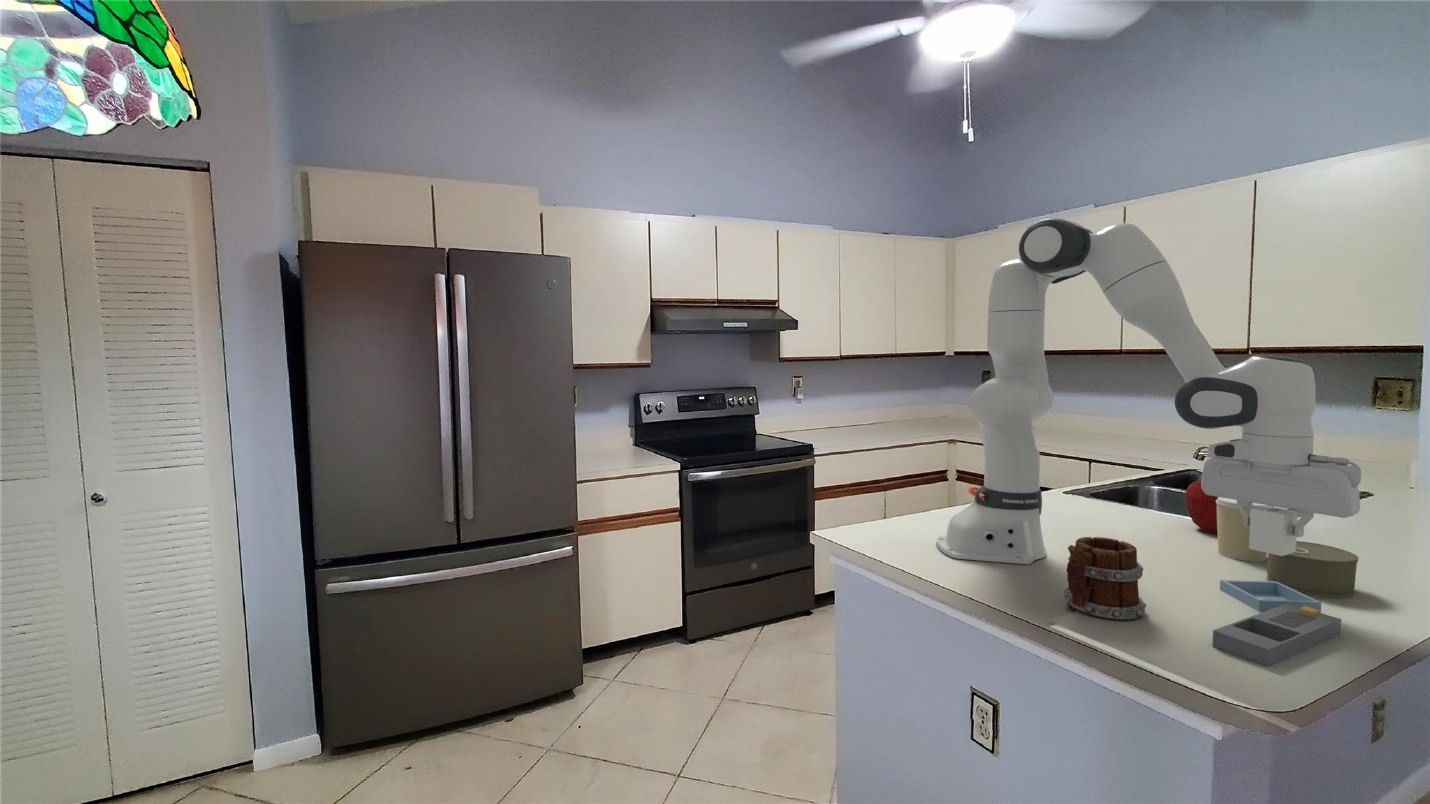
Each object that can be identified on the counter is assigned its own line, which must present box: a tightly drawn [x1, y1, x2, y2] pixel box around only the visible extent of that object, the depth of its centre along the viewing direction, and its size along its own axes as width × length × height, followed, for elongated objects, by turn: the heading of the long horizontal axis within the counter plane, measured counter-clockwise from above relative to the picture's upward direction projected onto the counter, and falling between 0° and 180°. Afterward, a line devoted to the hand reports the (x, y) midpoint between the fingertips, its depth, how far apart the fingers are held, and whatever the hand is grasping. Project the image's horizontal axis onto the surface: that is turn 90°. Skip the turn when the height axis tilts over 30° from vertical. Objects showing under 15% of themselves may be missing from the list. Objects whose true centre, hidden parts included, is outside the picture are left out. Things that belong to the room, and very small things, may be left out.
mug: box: [1063, 536, 1147, 622], centre depth 102 cm, size 12×14×15 cm
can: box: [1266, 540, 1359, 599], centre depth 112 cm, size 12×12×7 cm
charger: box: [1249, 506, 1298, 556], centre depth 103 cm, size 4×4×7 cm
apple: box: [1184, 479, 1218, 534], centre depth 146 cm, size 12×12×13 cm
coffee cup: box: [1216, 497, 1275, 562], centre depth 129 cm, size 9×9×12 cm
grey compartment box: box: [1211, 603, 1342, 667], centre depth 91 cm, size 25×6×4 cm, turn 115°
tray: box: [1219, 579, 1322, 613], centre depth 104 cm, size 9×9×3 cm
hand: (1272, 531), depth 103 cm, fingers closed on charger, 4 cm apart
